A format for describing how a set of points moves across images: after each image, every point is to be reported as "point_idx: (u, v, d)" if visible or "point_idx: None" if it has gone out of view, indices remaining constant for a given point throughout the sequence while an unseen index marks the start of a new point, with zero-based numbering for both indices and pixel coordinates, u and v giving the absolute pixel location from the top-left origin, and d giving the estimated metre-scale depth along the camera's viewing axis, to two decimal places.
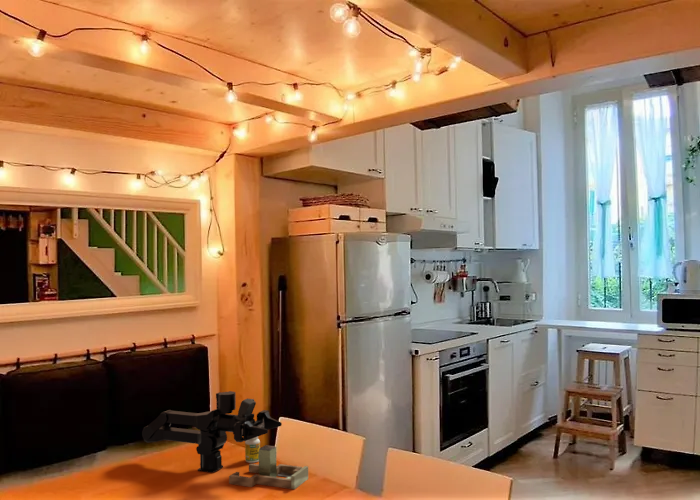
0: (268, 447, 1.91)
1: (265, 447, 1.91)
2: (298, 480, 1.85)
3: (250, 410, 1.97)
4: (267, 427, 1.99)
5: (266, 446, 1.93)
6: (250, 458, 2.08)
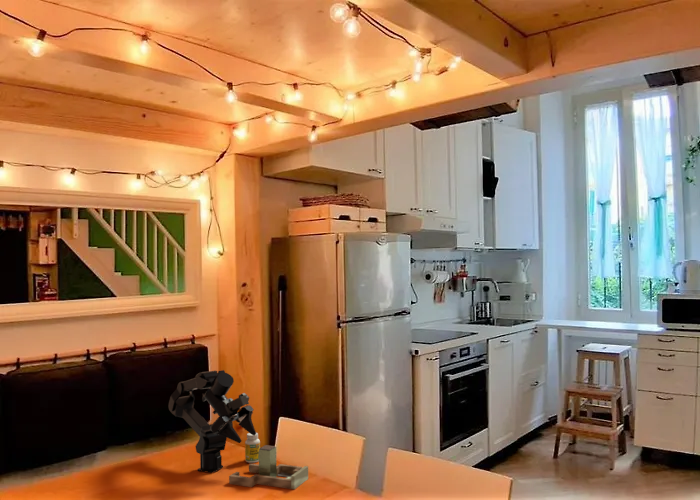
0: (268, 447, 1.91)
1: (265, 447, 1.91)
2: (298, 480, 1.85)
3: None
4: (242, 425, 2.01)
5: (266, 446, 1.93)
6: (250, 458, 2.08)
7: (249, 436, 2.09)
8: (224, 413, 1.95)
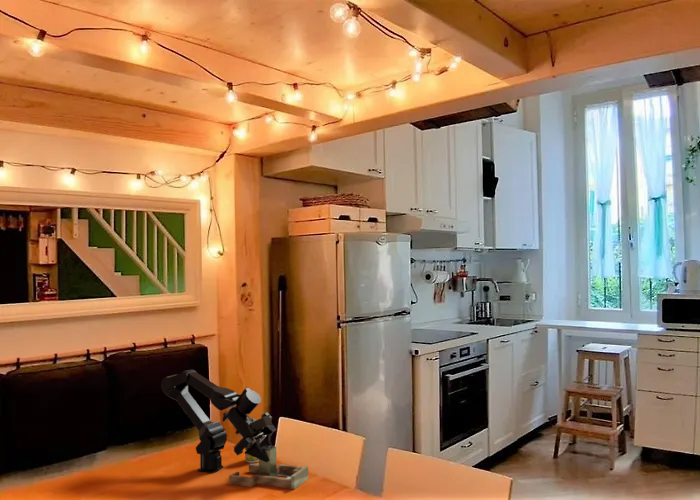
0: (268, 447, 1.91)
1: (265, 447, 1.91)
2: (298, 480, 1.85)
3: None
4: None
5: (266, 446, 1.93)
6: (250, 458, 2.08)
7: None
8: (247, 434, 1.91)
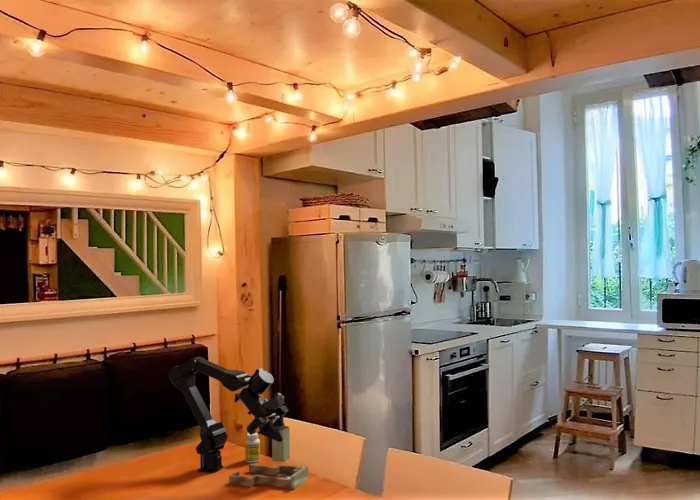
0: (281, 427, 1.90)
1: (278, 427, 1.90)
2: (298, 480, 1.85)
3: None
4: None
5: (279, 426, 1.91)
6: (250, 458, 2.08)
7: (249, 436, 2.09)
8: (260, 414, 1.90)
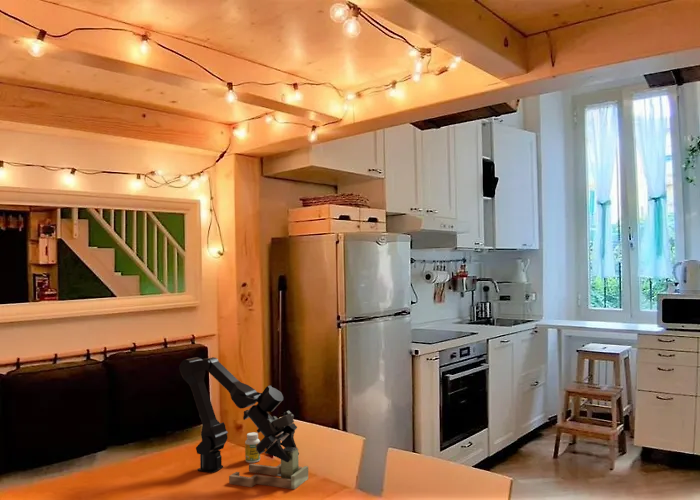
0: (290, 449, 1.88)
1: (287, 449, 1.88)
2: (298, 480, 1.85)
3: None
4: (284, 444, 1.93)
5: (288, 448, 1.90)
6: (250, 458, 2.08)
7: (249, 436, 2.09)
8: (269, 432, 1.88)
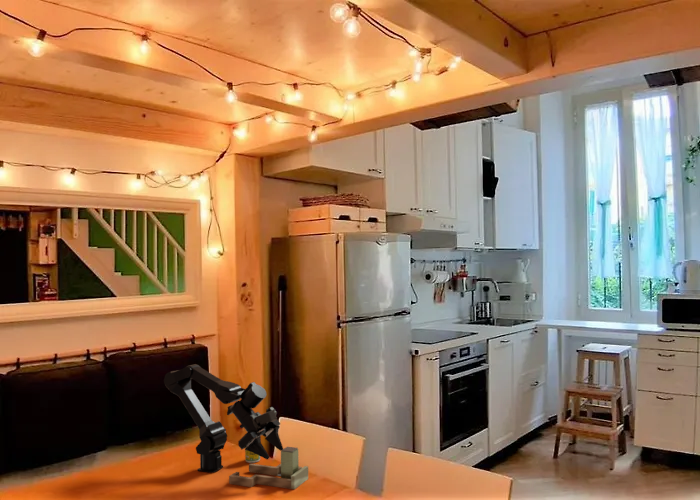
0: (290, 449, 1.88)
1: (287, 449, 1.88)
2: (298, 480, 1.85)
3: None
4: (269, 439, 1.97)
5: (288, 448, 1.90)
6: (250, 458, 2.08)
7: None
8: (252, 428, 1.91)
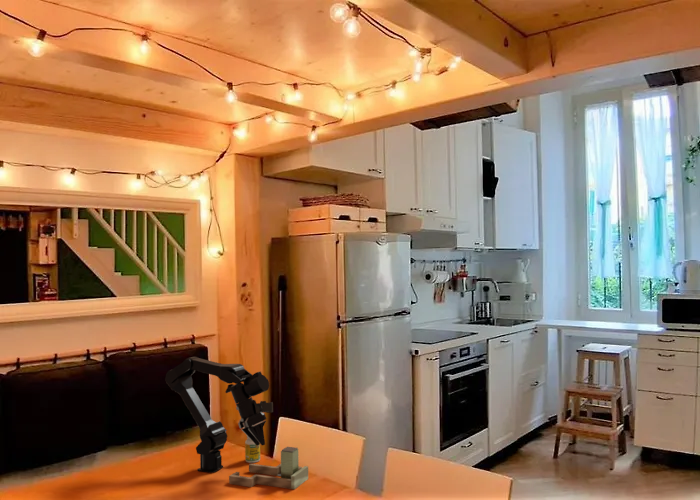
0: (290, 449, 1.88)
1: (287, 449, 1.88)
2: (298, 480, 1.85)
3: None
4: (247, 431, 1.98)
5: (288, 448, 1.90)
6: (250, 458, 2.08)
7: None
8: (252, 412, 1.93)
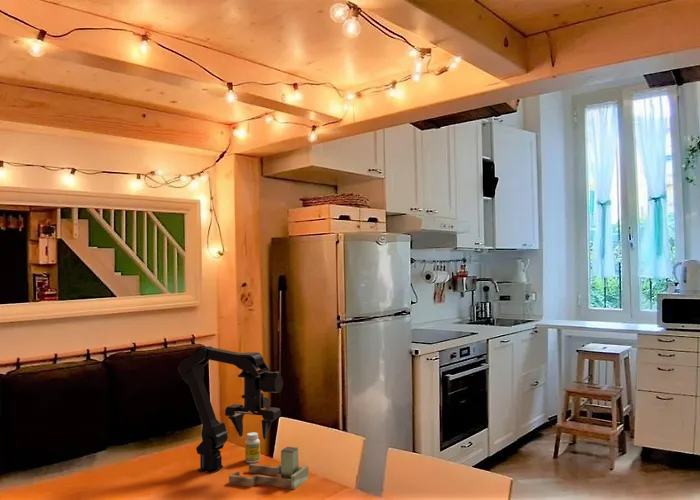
0: (290, 449, 1.88)
1: (287, 449, 1.88)
2: (298, 480, 1.85)
3: None
4: (237, 420, 1.96)
5: (288, 448, 1.90)
6: (250, 458, 2.08)
7: (249, 436, 2.09)
8: (260, 405, 1.95)
